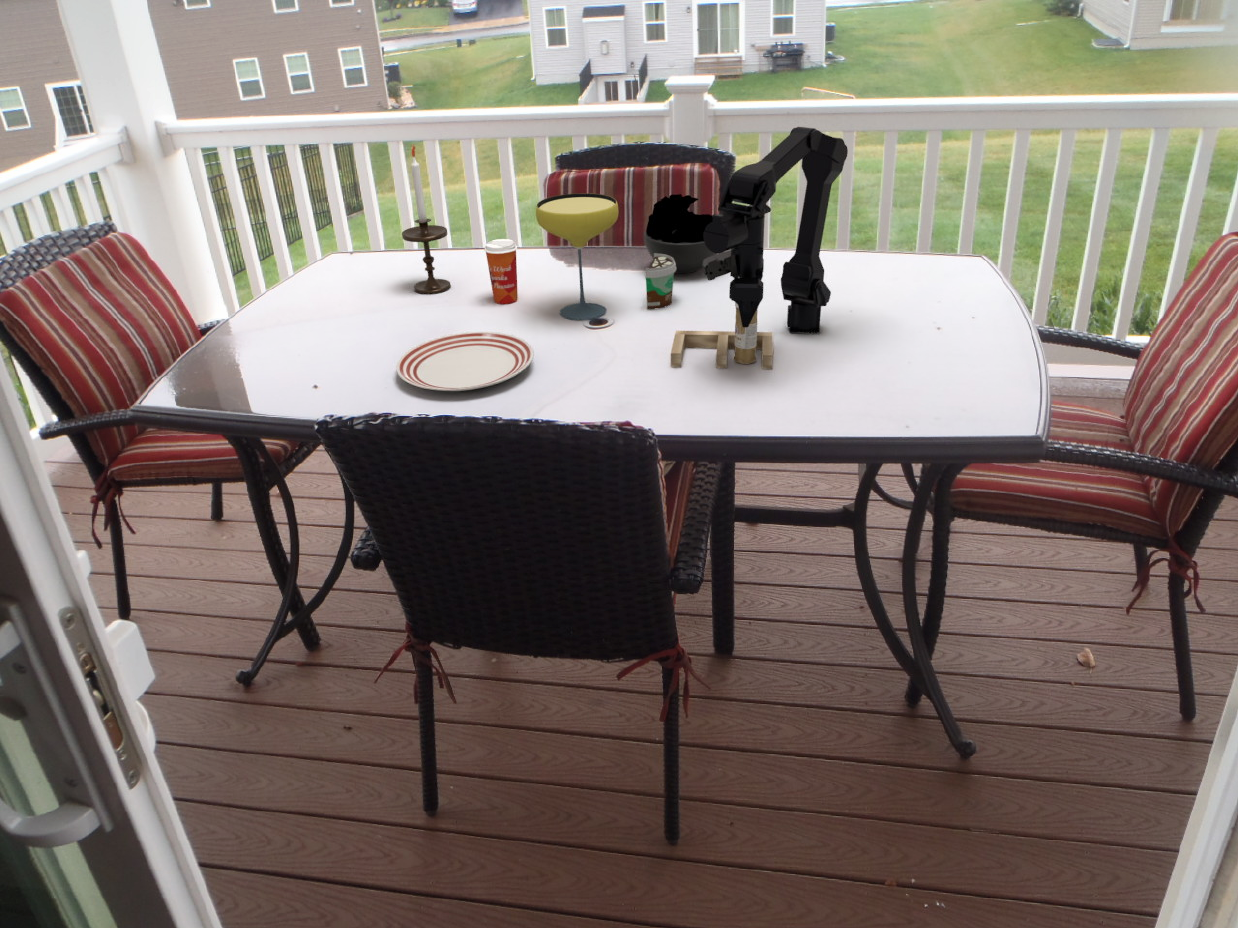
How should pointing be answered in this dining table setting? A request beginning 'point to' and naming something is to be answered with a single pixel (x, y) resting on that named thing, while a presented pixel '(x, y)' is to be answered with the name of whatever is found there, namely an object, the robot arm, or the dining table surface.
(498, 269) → the paper cup
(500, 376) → the dinner plate
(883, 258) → the dining table surface
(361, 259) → the dining table surface
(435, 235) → the candlestick
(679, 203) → the coal bowl
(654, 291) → the food container
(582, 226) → the cocktail glass
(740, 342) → the sprinkles bottle
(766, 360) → the comb rack
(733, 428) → the dining table surface
